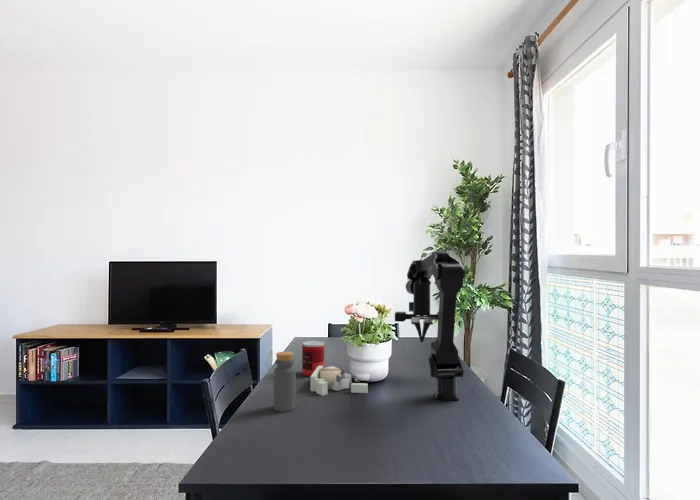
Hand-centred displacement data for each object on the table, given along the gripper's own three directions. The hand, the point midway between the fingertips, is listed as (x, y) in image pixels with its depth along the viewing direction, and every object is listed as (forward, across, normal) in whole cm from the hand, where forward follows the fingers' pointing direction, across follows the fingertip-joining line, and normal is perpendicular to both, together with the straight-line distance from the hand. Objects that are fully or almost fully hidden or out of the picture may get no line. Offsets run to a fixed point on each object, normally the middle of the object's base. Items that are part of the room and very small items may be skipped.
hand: (421, 341), depth 154 cm
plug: (+12, +30, +14) cm, 35 cm away
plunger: (+12, +26, +10) cm, 30 cm away
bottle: (+12, +39, +37) cm, 55 cm away
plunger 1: (+12, +26, +18) cm, 34 cm away
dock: (+12, +26, +14) cm, 32 cm away
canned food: (+12, +38, +1) cm, 40 cm away
